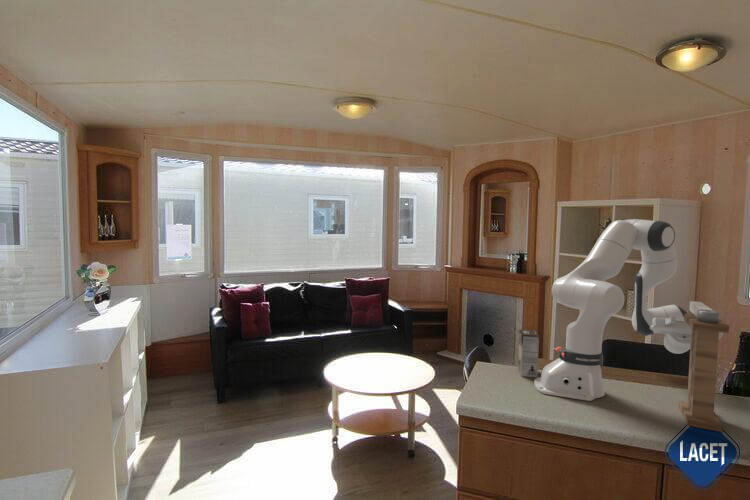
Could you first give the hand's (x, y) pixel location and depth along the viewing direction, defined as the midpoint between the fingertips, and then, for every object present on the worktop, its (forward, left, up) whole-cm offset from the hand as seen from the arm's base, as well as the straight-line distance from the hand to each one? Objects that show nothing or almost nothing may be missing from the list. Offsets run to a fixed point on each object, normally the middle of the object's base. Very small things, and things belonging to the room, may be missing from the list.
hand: (690, 320), depth 145 cm
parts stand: (-6, -21, -25) cm, 33 cm away
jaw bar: (-4, -16, +5) cm, 17 cm away
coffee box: (-51, +8, -26) cm, 57 cm away
